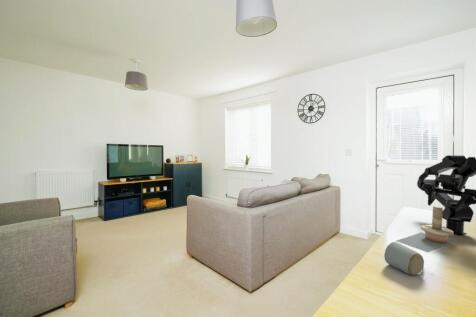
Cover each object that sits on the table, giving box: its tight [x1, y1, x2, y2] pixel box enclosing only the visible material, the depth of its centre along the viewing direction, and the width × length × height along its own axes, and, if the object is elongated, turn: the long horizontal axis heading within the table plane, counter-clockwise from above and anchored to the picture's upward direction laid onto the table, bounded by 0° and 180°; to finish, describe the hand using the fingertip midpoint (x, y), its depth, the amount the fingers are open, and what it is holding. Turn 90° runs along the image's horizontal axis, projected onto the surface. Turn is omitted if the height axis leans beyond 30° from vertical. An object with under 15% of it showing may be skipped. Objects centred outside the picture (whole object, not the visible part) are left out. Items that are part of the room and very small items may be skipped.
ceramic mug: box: [383, 241, 425, 276], centre depth 72 cm, size 11×8×8 cm
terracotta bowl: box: [424, 231, 449, 243], centre depth 93 cm, size 7×7×4 cm
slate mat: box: [396, 232, 453, 253], centre depth 92 cm, size 20×11×1 cm, turn 117°
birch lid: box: [420, 206, 454, 237], centre depth 92 cm, size 10×10×10 cm
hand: (441, 207), depth 94 cm, fingers open, 9 cm apart
